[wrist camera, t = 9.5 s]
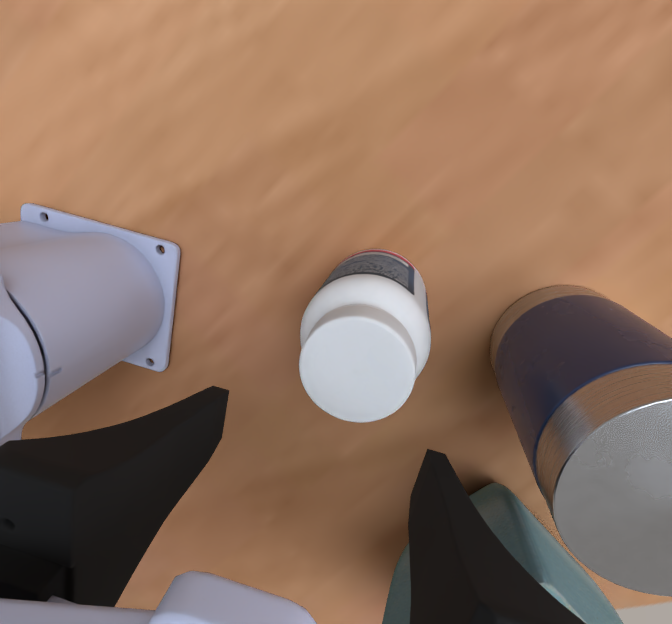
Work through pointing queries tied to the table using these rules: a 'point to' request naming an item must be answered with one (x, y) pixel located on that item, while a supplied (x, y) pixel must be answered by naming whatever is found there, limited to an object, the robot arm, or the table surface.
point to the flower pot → (529, 550)
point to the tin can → (594, 427)
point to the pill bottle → (365, 336)
